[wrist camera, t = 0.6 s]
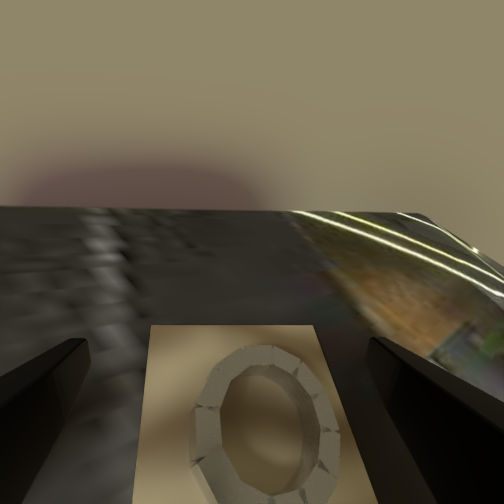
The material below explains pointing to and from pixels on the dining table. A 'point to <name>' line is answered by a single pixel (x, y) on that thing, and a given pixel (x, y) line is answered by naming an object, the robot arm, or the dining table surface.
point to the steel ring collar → (311, 419)
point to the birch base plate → (233, 415)
